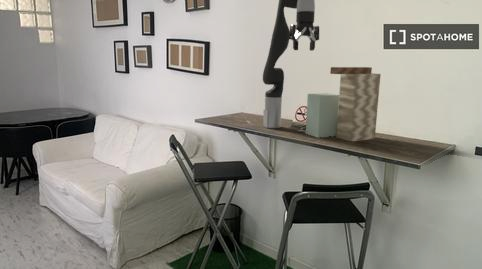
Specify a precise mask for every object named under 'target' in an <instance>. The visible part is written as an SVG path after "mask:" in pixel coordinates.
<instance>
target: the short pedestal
mask: <svg viewBox="0 0 482 269" xmlns="http://www.w3.org/2000/svg"><path fill="white" fill-rule="evenodd" d="M306 99H307V100H306V102H307V104H306V118H305V123H306V124H305V135H307V134H308V135H307V136H310V135H311V136H310V137H313V136H314V138H317V139H319V138H320V137H321V138H329V136H331V137H336V136H337V120H338V107H339V94H333V93H327V92H322V93H320V92H317V93H307V98H306Z"/></svg>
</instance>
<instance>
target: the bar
mask: <svg viewBox="0 0 482 269" xmlns="http://www.w3.org/2000/svg"><path fill="white" fill-rule="evenodd" d="M372 69H373V68H372V67H369V66H368V67H367V66H366V67H363V66H358V67H357V66H355V67H354V66H340V67H339V66H338V67H337V66H331V67H330V71H329V72H330V73H329V74H331V75H341V74H371V73H372V71H373V70H372Z"/></svg>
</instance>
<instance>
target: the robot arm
mask: <svg viewBox="0 0 482 269" xmlns="http://www.w3.org/2000/svg"><path fill="white" fill-rule="evenodd" d="M315 2H316V1H315V0H278V3H277V4H278V5H277V11H276V18H275V23H274V26H273V31H272V35H271V39H270V40H271V41H270V47H269V50H268V54H267V55H268V56H267V59H266V62H265V66H264V68H263V73H262V82H263V83H264V85H271V86H272V85H273V86H272V88H270V89H269V90H266V91H265V93H264V94H265V97H264V98H265V99H264V109H263V116H262V117H263V120H262V121H263V122H262V123H263V125H262V126H263V127H264V128H266V129H279V128H281V124H282V98H283V96H282V95H283V91H284V83H285V72H284V70H283V68H281V67H275V66H276V63H277V61H278V60H279V59H280V57H281V56H282V55H283V54H284V53H285V51H286V50H287V48H288V47H289V43H290V40H291V41H292V49H293V51H298V50H299V40H300V38H301V37H307V38H308V39H309V51H311V52H312V51H314V50H315V48H316V41H319V40H320V26H319V25H316V26H315V25H314V22H315V10H316V9H315V8H316V7H315V6H316V3H315ZM285 8H289V9H295V10H296V16H295V17H296V18H295V19H296V21H295V22H296V24H291V25H289V26H288V23H287V20H286V16H285Z"/></svg>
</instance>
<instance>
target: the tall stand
mask: <svg viewBox="0 0 482 269" xmlns="http://www.w3.org/2000/svg"><path fill="white" fill-rule="evenodd" d="M381 76H382V75H381V73H373V72H371V74H340V80H339V82H340V83H339V94H338V95H339V105H338V121H337V134H336V136H335V138H336V139H341V140H343V141H348V142H350V141H351V142H358V141H367V140H375V138H376V131H377V130H376V128H377V119H378V118H377V117H378V107H379V95H380V84H381Z"/></svg>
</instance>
